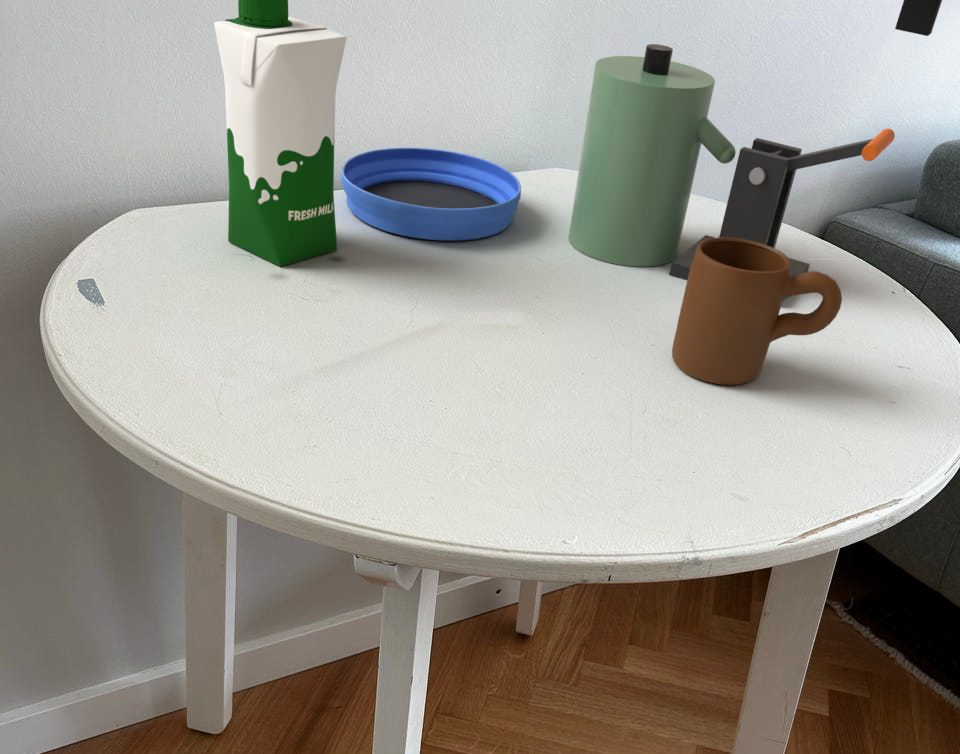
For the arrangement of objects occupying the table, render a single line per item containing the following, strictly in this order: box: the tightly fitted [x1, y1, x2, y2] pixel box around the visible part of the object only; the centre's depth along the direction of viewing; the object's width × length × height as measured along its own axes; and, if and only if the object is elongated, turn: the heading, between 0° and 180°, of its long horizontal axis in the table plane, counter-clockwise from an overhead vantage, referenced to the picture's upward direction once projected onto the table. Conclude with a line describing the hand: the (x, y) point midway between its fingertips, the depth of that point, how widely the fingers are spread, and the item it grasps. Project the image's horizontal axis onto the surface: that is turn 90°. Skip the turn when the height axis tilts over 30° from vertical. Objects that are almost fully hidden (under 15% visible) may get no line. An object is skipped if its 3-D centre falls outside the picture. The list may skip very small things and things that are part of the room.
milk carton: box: [213, 0, 348, 267], centre depth 96 cm, size 9×9×20 cm
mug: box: [671, 237, 843, 386], centre depth 89 cm, size 12×8×9 cm, turn 74°
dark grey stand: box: [668, 137, 811, 303], centre depth 105 cm, size 11×10×12 cm
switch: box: [771, 128, 896, 177], centre depth 100 cm, size 12×7×2 cm, turn 62°
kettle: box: [568, 43, 737, 268], centre depth 105 cm, size 15×11×18 cm
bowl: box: [340, 147, 522, 242], centre depth 112 cm, size 18×18×4 cm
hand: (913, 31), depth 91 cm, fingers closed
